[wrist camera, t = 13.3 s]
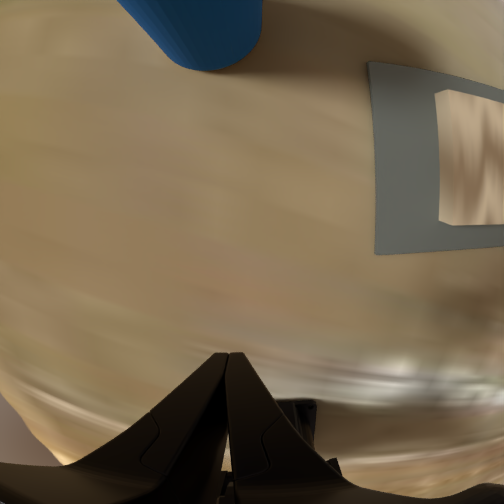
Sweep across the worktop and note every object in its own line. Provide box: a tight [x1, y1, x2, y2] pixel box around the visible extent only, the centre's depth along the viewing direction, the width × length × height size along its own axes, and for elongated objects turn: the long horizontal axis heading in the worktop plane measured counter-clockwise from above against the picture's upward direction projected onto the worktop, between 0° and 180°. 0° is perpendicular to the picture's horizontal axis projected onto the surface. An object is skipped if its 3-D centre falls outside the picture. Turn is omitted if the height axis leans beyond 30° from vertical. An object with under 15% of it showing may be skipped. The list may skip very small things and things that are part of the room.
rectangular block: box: [435, 89, 504, 226], centre depth 17 cm, size 9×2×6 cm
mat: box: [367, 61, 504, 255], centre depth 18 cm, size 13×14×1 cm
